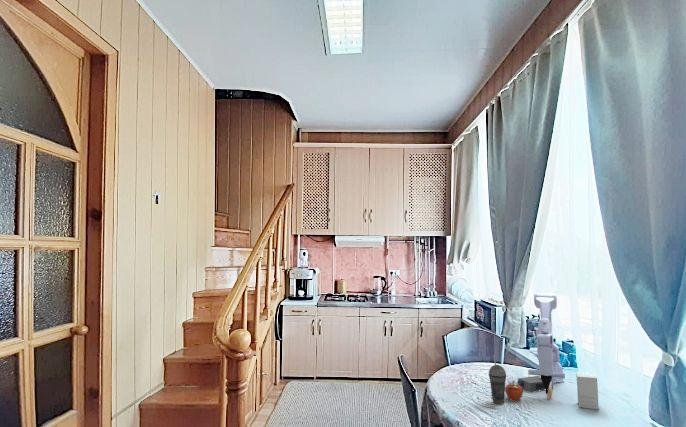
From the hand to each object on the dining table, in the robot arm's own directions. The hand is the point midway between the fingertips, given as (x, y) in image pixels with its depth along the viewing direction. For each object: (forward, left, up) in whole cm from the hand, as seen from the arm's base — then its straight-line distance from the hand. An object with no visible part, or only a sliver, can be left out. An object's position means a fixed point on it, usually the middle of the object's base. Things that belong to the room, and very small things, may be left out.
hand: (547, 393), depth 197 cm
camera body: (-5, -13, -2) cm, 14 cm away
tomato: (+14, -4, -2) cm, 15 cm away
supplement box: (-9, +13, -2) cm, 16 cm away
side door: (-5, -3, -2) cm, 6 cm away
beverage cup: (+23, -3, -2) cm, 24 cm away
